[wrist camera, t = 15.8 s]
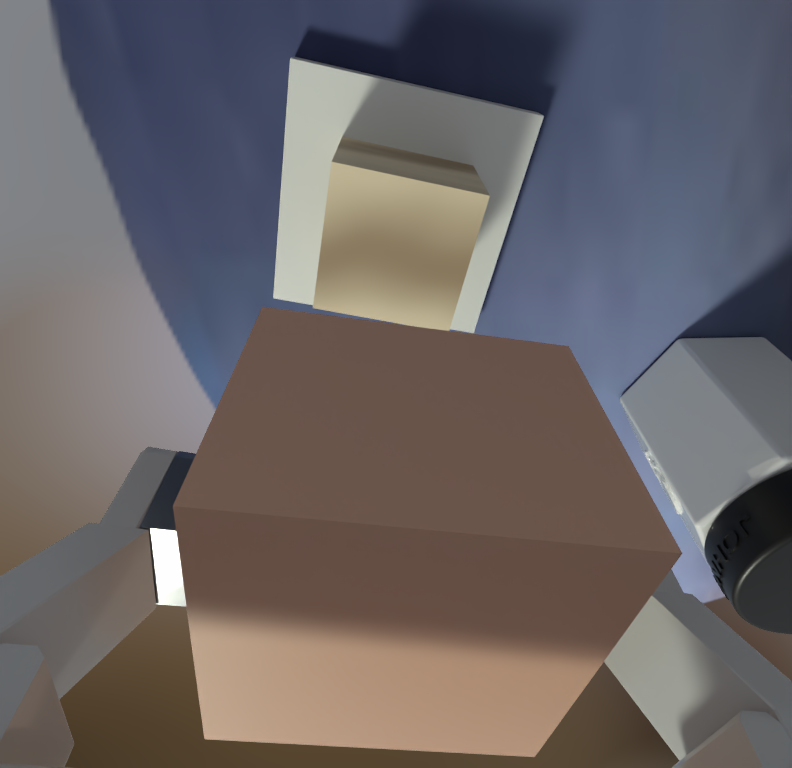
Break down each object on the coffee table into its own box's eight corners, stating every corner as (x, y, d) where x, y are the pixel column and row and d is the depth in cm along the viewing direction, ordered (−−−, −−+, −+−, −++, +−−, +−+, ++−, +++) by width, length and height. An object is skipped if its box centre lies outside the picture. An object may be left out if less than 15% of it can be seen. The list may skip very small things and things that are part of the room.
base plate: (294, 56, 20) (290, 58, 19) (538, 112, 21) (543, 116, 21) (277, 289, 26) (273, 298, 25) (471, 323, 27) (473, 332, 26)
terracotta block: (262, 306, 9) (173, 505, 5) (568, 346, 9) (681, 554, 6) (261, 519, 12) (204, 739, 8) (492, 541, 13) (534, 756, 9)
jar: (601, 370, 29) (709, 552, 19) (757, 301, 26) (973, 467, 17) (646, 470, 33) (753, 659, 23) (783, 418, 31) (966, 605, 21)
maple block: (342, 136, 21) (331, 161, 17) (473, 165, 22) (489, 195, 18) (324, 263, 24) (312, 307, 20) (440, 285, 25) (448, 332, 21)
